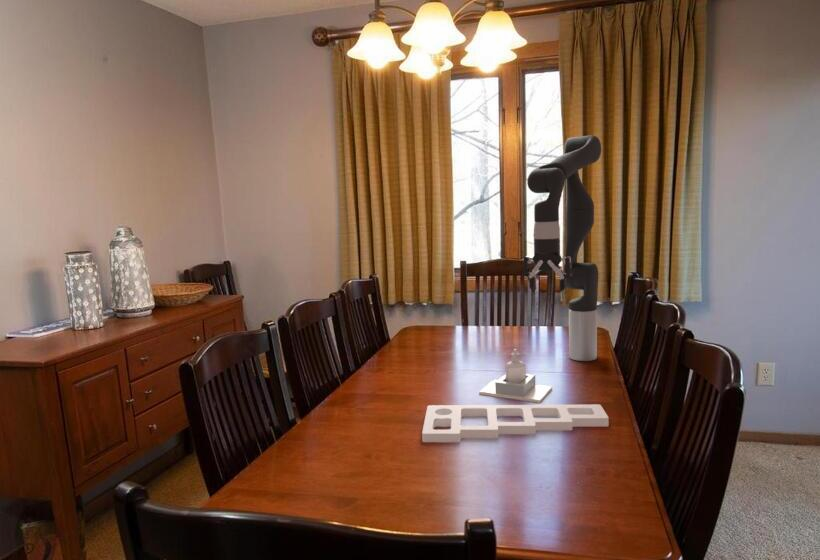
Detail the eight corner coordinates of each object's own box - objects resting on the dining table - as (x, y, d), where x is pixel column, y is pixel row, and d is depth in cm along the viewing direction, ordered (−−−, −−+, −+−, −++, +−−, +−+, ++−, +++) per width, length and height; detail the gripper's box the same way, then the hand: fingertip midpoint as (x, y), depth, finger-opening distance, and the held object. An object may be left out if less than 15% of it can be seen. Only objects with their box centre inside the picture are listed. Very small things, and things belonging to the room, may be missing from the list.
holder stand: (494, 381, 170) (494, 369, 170) (552, 389, 161) (551, 376, 160) (479, 394, 160) (478, 380, 159) (539, 402, 151) (539, 388, 150)
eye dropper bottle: (524, 392, 157) (523, 351, 156) (505, 390, 159) (504, 350, 158) (526, 387, 161) (525, 347, 160) (507, 385, 163) (506, 346, 162)
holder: (600, 414, 142) (600, 404, 142) (618, 444, 125) (618, 433, 124) (428, 414, 148) (427, 405, 147) (422, 444, 130) (421, 433, 130)
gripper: (574, 235, 162) (574, 289, 164) (527, 236, 169) (528, 288, 171) (567, 237, 156) (568, 293, 158) (519, 238, 163) (520, 291, 165)
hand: (547, 290), depth 165 cm, fingers open, 8 cm apart
